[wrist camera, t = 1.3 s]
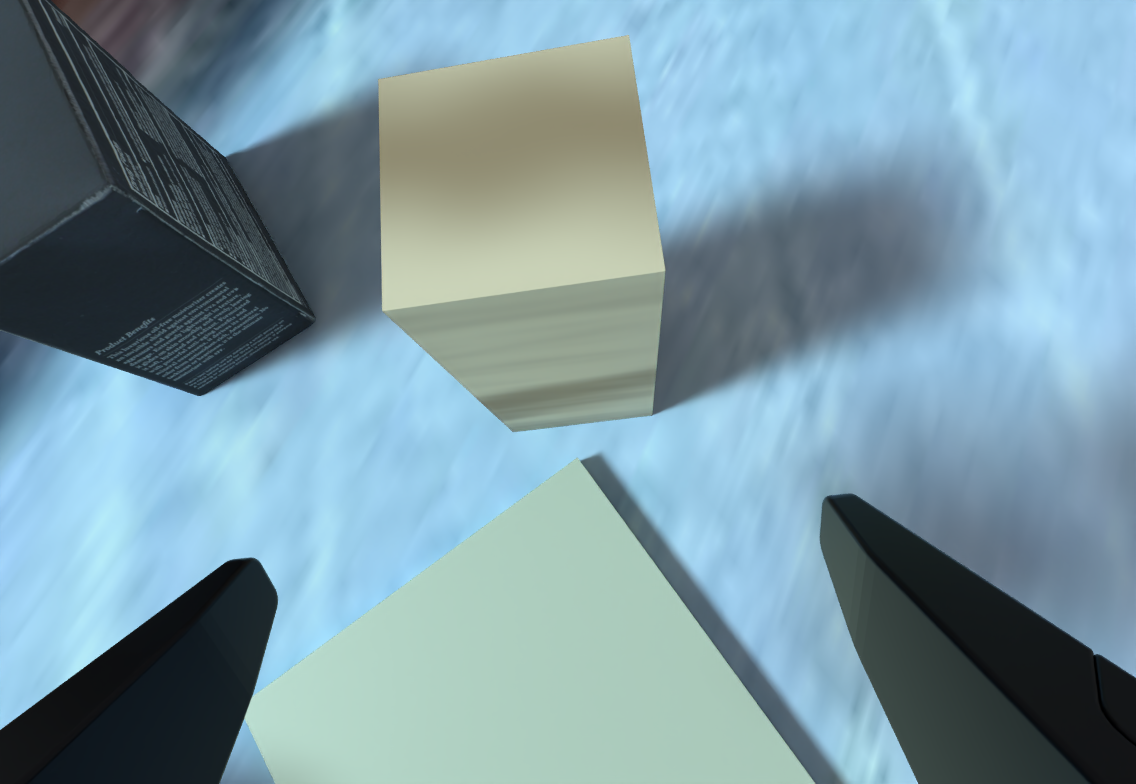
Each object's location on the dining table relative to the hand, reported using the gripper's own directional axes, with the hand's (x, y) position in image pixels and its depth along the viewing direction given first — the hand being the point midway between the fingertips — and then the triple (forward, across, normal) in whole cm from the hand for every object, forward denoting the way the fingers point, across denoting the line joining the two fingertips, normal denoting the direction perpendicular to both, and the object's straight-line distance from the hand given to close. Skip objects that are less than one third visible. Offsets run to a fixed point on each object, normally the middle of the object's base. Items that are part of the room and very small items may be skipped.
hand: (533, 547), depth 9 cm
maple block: (+15, 0, +4) cm, 15 cm away
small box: (+19, +16, 0) cm, 25 cm away
